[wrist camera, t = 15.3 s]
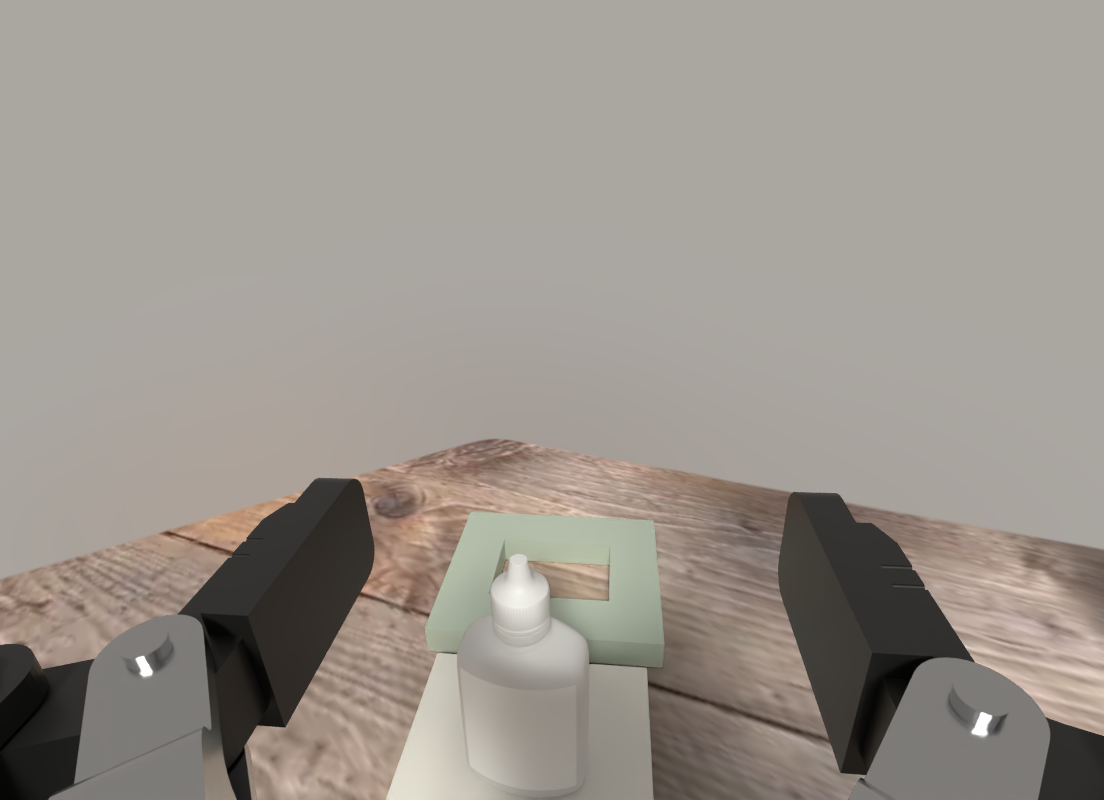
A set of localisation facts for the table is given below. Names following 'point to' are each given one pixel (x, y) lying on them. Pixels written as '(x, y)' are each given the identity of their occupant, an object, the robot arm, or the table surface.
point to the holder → (608, 626)
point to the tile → (460, 796)
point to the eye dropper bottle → (524, 690)
